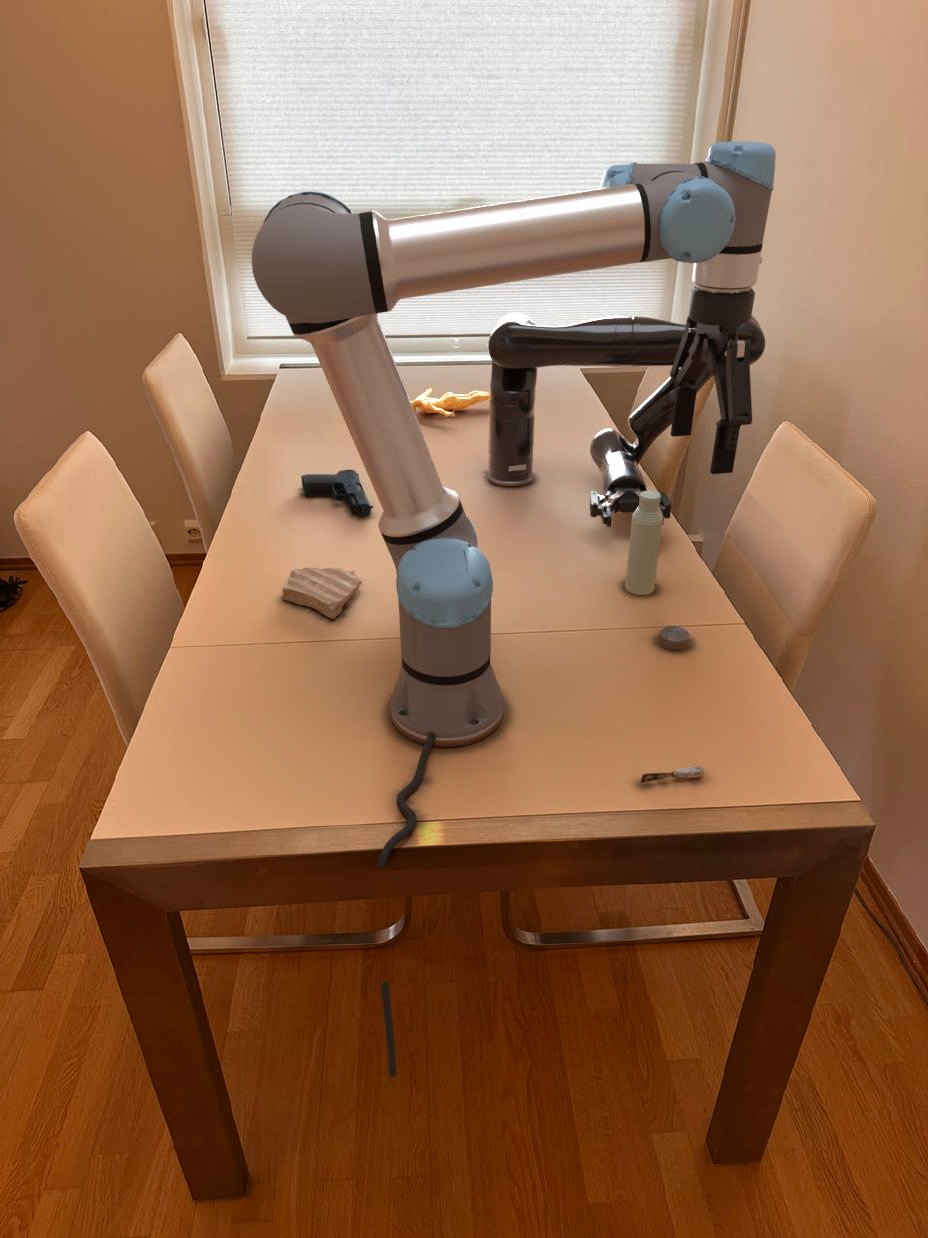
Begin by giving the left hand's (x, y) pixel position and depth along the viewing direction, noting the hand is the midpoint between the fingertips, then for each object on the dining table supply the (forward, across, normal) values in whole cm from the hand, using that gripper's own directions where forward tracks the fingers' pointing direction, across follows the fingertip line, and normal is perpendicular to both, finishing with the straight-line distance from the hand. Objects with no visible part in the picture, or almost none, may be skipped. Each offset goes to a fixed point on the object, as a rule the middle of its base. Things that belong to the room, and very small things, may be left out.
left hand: (699, 453), depth 119 cm
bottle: (+30, +17, -1) cm, 35 cm away
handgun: (+30, +61, +47) cm, 83 cm away
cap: (+29, 0, 0) cm, 29 cm away
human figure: (+30, +111, +16) cm, 116 cm away
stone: (+30, +23, +52) cm, 64 cm away
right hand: (+24, +28, -3) cm, 36 cm away
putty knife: (+30, -29, +12) cm, 44 cm away
